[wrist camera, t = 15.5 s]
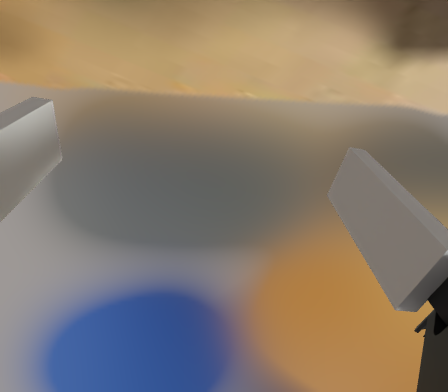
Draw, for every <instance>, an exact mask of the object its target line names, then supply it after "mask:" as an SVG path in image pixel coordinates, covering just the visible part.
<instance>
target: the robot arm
mask: <svg viewBox="0 0 448 392" xmlns="http://www.w3.org/2000/svg"><path fill="white" fill-rule="evenodd" d="M61 160H62V154H61V148H60V142H59V136H58V130H57V124H56V118H55V113H54V106H53V100H49V99H43V98H37V97H31V98H29V99H27V100H25V101H23V102H21V103H19V104H17V105H15V106H13V107H11V108H9V109H7V110H5V111H3V112H1V113H0V222H1V221H2V220H3V219H4V218H5V217H6V216H7V215H8V214H9V213H10V212H11V211H12V210H13V209H14V208H15V207H16V206H17V205H18V204H19V203H20V202H21V201H22V200H23V199H24V198H25V197H26V196H27V194H29V193H30V192H31V191H32V190H33V188H35V187H36V186H37V185H38V184H39V182H41V181H42V180H43V179H44V178H45V177H46V176H47V174H49V173H50V172H51V170H53V169H54V168H55V167H56V166H57V164H59V162H61ZM327 196H328V198H329V199H330V201H331V203H332V205H333V206H334V208H335V210H336V211H337V213H338V215H339V216H340V218H341V220H342V221H343V223H344V225H345V226H346V228H347V230H348V231H349V233H350V235H351V237H352V238H353V240H354V242H355V243H356V245H357V247H358V248H359V250H360V252H361V253H362V255H363V257H364V258H365V260H366V262H367V263H368V265H369V267H370V269H371V270H372V272H373V273H374V275H375V277H376V279H377V280H378V282H379V284H380V285H381V287H382V289H383V290H384V292H385V294H386V295H387V297H388V299H389V301H390V302H391V304H392V306H393V307H394V309H395V310H399V311H411V312H417V311H418V310H419V309H420V308H421V306H422V305H423V304H424V303H425V302H426V301H427V300H428V301H429V302H430V304H431V305H432V306H433V308H434V310H433V311H432V312H431V313H430V314H429V315H428V316H427V317H426V318H425V319H424V320H423V321H422V322H421V323H420V324H419V325H418V326H417V328H416V329H415V332H417V333H419V332H420V331H421V330H422V329H426V331H425V335H424V336H423V337H425V338H424V346H423V352H422V359H421V366H420V372H419V379H418V385H417V392H448V229H447V228H446V227H444V226H443V224H442V223H441V222H440V221H439V220H437V219H436V218H435V217H434V216H433V215H432V214H431V213H430V212H429V211H428V210H427V209H426V208H425V207H424V206H423V205H421V204H420V203H419V202H418V201H417V200H416V199H415V198H414V197H413V196H412V195H411V194H410V193H409V192H408V191H407V190H406V189H405V188H404V187H403V186H402V185H401V184H400V183H399V182H397V180H395V179H394V178H393V177H392V176H391V175H390V174H389V173H388V172H387V171H386V170H385V169H384V168H383V167H382V166H381V165H380V164H379V163H378V162H377V161H376V160H375V159H373V157H371V156H370V155H369V154H368V153H367V152H366V151H365V150H363V149H357V148H351V147H349V149H348V151H347V153H346V156H345V158H344V160H343V162H342V164H341V166H340V169H339V171H338V173H337V175H336V177H335V179H334V182H333V184H332V186H331V188H330V190H329V192H328V195H327Z"/></svg>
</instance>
